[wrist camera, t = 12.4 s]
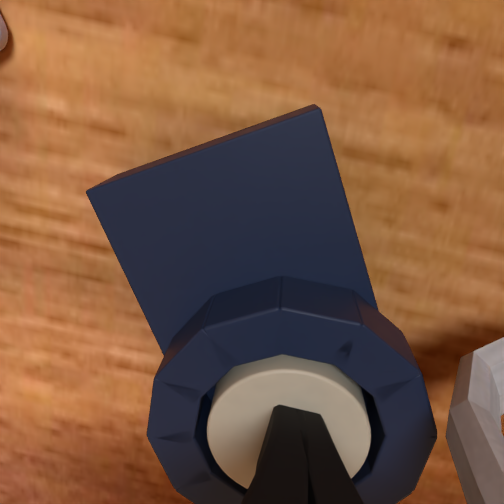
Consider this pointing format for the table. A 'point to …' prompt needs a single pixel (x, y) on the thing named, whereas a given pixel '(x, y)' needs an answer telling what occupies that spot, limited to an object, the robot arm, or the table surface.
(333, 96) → the table surface
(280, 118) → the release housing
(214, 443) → the release button
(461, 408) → the mug
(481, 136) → the table surface
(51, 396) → the table surface
